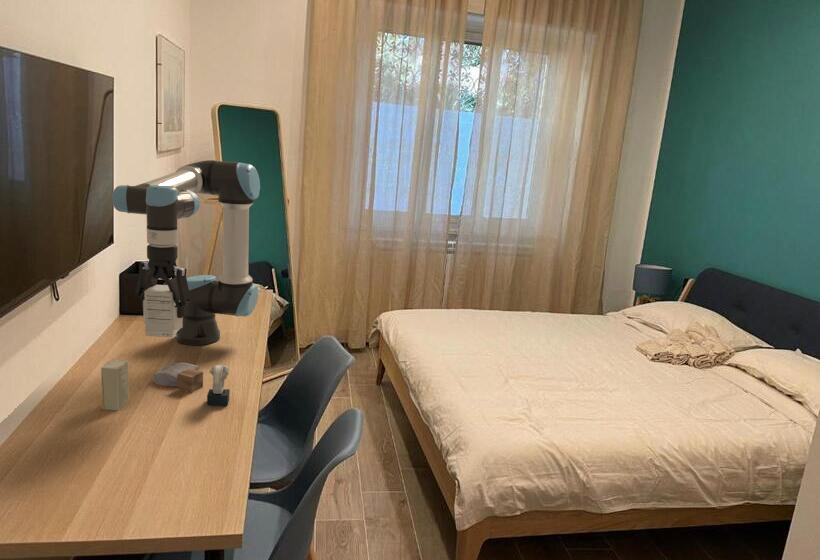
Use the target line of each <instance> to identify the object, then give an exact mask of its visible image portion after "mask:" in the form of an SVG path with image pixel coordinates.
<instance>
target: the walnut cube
mask: <svg viewBox="0 0 820 560" xmlns="http://www.w3.org/2000/svg"><path fill="white" fill-rule="evenodd" d="M201 388H202V389H203V388H204V371H201V370H194V369H190V368H189V369H187V370H184V371H182V372H180V373H178V387H177V390H178V389H179V390H178V391H182V392H186V391H187V392H186V393H191V394H192V393H194V391H195V392H196V391H198V390H200V389H201Z"/></svg>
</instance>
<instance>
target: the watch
mask: <svg viewBox="0 0 820 560" xmlns="http://www.w3.org/2000/svg"><path fill="white" fill-rule="evenodd" d="M229 372H230V369H229V367H228V366H227V365H224V364H215V365H213V366H212V367H211V369H210V370H209V373H210V374H211V375H212V377H213V379H212V381H213V382H212V388H209V389H208V392H207V394H206V395H207V396H206V407H228V406H229V403H228V402H229V401H230V391H231V390H230V388H228V389H227V388H226V389H225V388H224V387H225V380H227V377H228V375H229ZM227 405H228V406H227Z"/></svg>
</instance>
